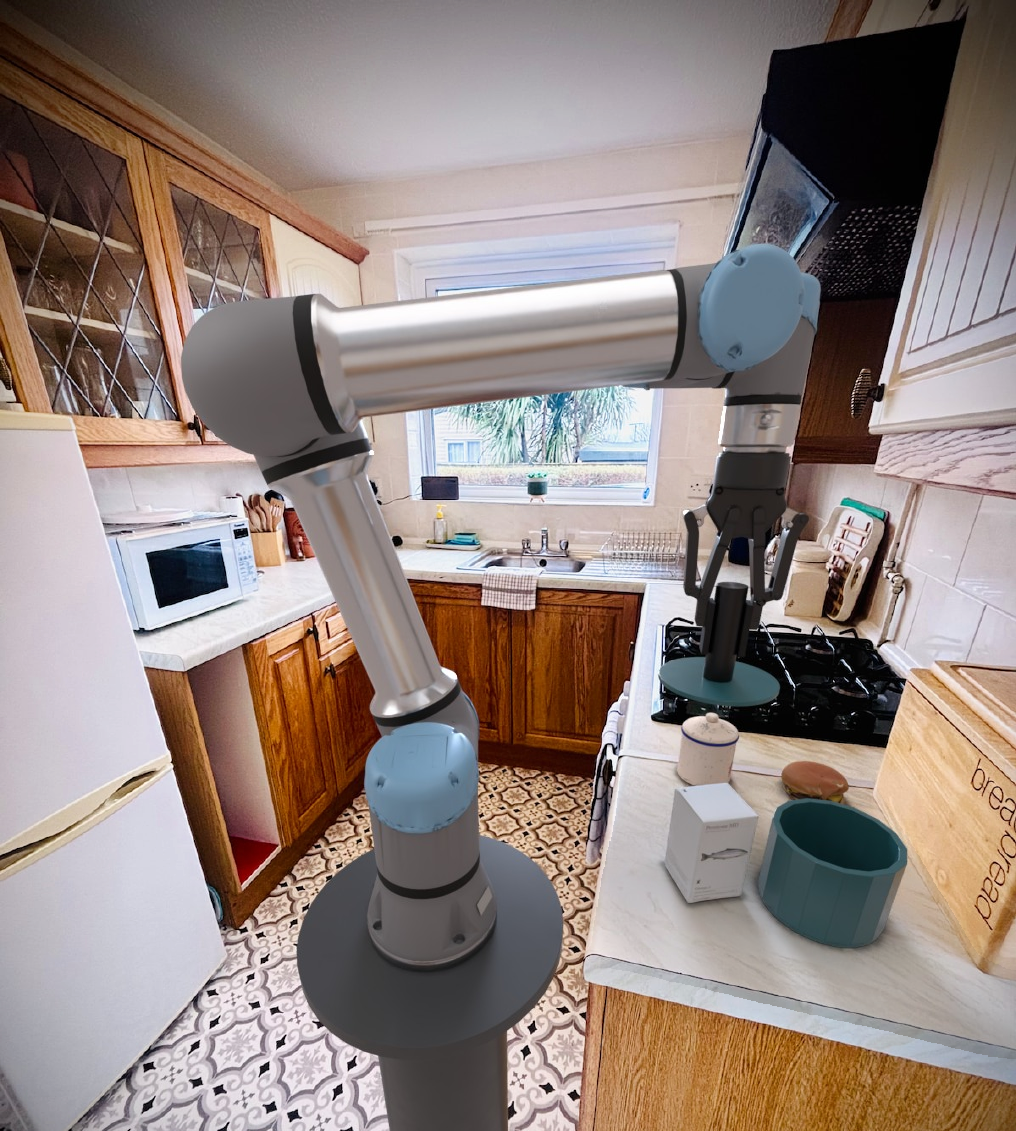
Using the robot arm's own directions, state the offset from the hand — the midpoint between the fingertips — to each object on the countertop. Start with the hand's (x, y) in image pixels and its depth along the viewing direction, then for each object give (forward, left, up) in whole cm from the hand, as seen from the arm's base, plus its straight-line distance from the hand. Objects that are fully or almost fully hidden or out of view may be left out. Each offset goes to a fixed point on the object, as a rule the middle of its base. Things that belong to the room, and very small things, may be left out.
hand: (721, 651), depth 68 cm
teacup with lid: (+3, +18, -29) cm, 34 cm away
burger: (+20, +14, -29) cm, 37 cm away
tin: (+14, -10, -28) cm, 33 cm away
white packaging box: (0, -9, -29) cm, 30 cm away
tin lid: (0, 0, -4) cm, 4 cm away
